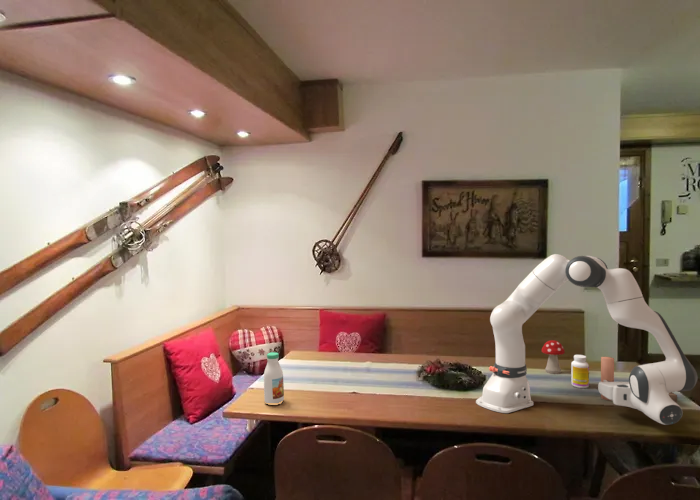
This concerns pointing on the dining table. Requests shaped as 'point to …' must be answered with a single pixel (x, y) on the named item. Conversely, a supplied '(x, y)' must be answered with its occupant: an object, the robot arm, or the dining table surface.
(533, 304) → the robot arm
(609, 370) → the peg
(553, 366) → the decorative mushroom
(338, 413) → the dining table surface
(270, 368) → the milk bottle
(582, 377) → the supplement bottle
